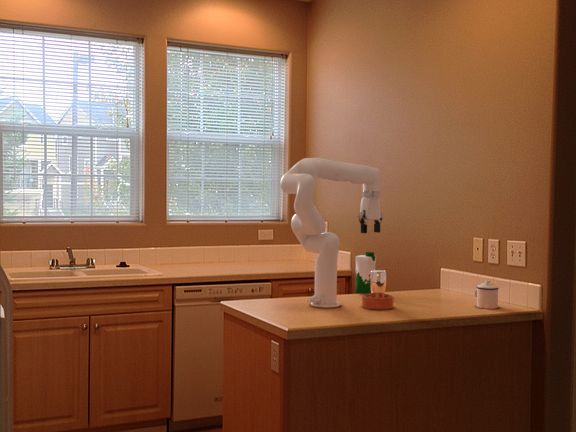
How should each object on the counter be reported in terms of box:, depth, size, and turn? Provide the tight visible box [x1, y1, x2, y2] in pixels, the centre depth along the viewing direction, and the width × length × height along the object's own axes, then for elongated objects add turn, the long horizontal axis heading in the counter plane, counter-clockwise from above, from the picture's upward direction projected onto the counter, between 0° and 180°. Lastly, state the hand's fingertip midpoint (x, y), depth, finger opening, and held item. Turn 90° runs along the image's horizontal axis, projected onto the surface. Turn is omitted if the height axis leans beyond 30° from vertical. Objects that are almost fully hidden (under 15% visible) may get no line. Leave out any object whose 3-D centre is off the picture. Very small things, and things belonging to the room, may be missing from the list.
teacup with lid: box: [474, 279, 499, 310], centre depth 283 cm, size 12×9×12 cm
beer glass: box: [370, 269, 387, 298], centre depth 279 cm, size 7×7×15 cm
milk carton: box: [354, 251, 377, 295], centre depth 318 cm, size 9×9×20 cm
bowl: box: [361, 293, 395, 311], centre depth 279 cm, size 13×13×5 cm
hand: (370, 232), depth 300 cm, fingers open, 9 cm apart
